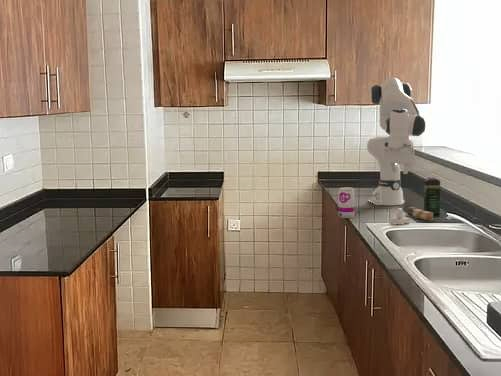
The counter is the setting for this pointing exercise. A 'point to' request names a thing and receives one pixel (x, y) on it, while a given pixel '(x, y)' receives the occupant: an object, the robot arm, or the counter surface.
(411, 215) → the hinge plate
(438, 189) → the coffee jar
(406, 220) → the socket
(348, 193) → the supplement can
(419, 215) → the oak leg
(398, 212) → the locking pin
